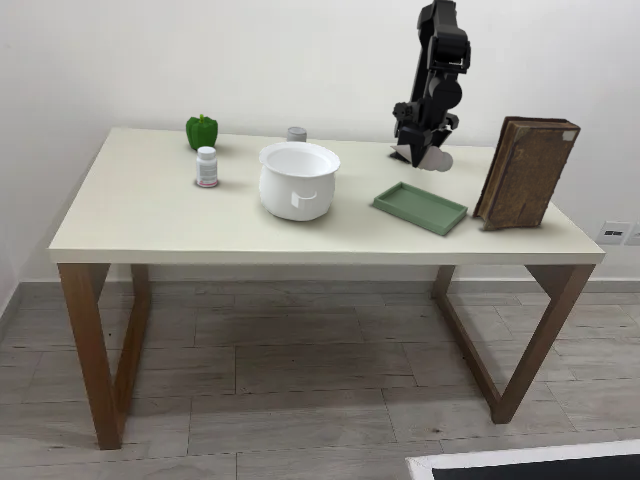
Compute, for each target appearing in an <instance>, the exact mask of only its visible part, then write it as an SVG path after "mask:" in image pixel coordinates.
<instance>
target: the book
mask: <svg viewBox="0 0 640 480" xmlns="http://www.w3.org/2000/svg"><path fill="white" fill-rule="evenodd" d="M581 130H582V128H581V127H580V126H579V125H578V124H575V123H573V122H571V121H570V120H568V119H566V118H557V117H532V116H531V117H528V116H520V115H505V116H504V119H503V122H502V124H501V127H500V130H499V131H500V133H499V137H498V140H497V143H496V146H495V151H494V153H493V157H492V160H491V163H490V166H489V168H488V171H487V174H486V177H485V180H484V183H483V186H482V189H481V191H480V194H479V195H480V196H479V197H478V201H477V202H476V204H475V207H474V209H473V212H472V215H471V217H472V218H473V219H474V218H482V220H483V221H484V224H483V226H482V230H483V231H497V230H504V229H505V230H507V229H517V228H522V229H523V228H525V229H534V228H535V229H536V228H538V227H540V226H542V225H541V224H542V222H543V221H544V220H543V219H544V216H545V214H546V212H547V209H549V204H550V202H551V199H552V197H553V195H554V194H555V189H556V187H557V185H558V182H559V180H560V179H561V175H562V173H563V171H564V169H565V167H566V165H567V164H568V159H569V158H570V154H571V152H572V150H573V148H574V147H575V143H576V141H577V139H578V137H579V135H580V134H581Z"/></svg>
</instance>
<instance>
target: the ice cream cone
mask: <svg viewBox="0 0 640 480" xmlns="http://www.w3.org/2000/svg"><path fill="white" fill-rule="evenodd" d="M389 147H390V148H391V149H393V150H394V151H397V152H398V153H400V154H401V155H402V156H403V157H405V158H406V159H407V160H409V161H410V162H411V163H410V164H412V160H411V151H410V146H409V145H397V144H396V145H389ZM453 165H454V159H453V156H452V155H451V153H449V152H447V151H443V150H442V149H441V148H438V147H436V146H431V147H430V148H429V150H428V151H427V153H426V155H425V156H424V158H423V159H422V161H421V163H420V164H419V166H418V167H417V169H419V170H420V171H421V170H425V171H429V172H433V171H434V172H435V171H436V172H439V173H446V172H448V171H450V170H451V169H452V167H453Z"/></svg>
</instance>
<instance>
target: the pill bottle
mask: <svg viewBox="0 0 640 480" xmlns="http://www.w3.org/2000/svg"><path fill="white" fill-rule="evenodd" d="M195 165H196V167H195V168H196V170H195V171H196V184H197V185H198V186H200V187H203V188H212V187H214V186H216V185H217V184H218V157H216V148H214V147H213V148H212V147H200V148H199V149H198V151H197V157H196V159H195Z"/></svg>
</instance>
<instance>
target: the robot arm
mask: <svg viewBox="0 0 640 480" xmlns="http://www.w3.org/2000/svg"><path fill="white" fill-rule="evenodd" d="M456 9H457V2H456V1H454V0H432V3H429V4H427V5H425V6H423V7H422V8H421V10H420V12H419V14H418V18H417V23H416V30H417V37H418V40H419V41H418V42H419V44H420V51H419V56H418V60H417V64H416V70H415V74H414V78H413V83H412V87H411V92H410V97H409V101H408V102H406V101H402V102H401V101H400V102H396V103H395V105H394V107H393V110H392V112H391V114H392V115H393V117H394V118H395V119H396V122H395V124H394V128H393V129H394V130H393V137H394V139H397V142H396V146H397V145H409V146H410V151H411V160H412V163H411V162H410V161H409V160H407V159H406V158H405V157H403V156H402V155H401V154H400V153H398V152H397V151H396V150H394V152H392V153H390V154H389V157H391V158H393V159H396V160H399V161H402V162H405V163H406V164H411V167H412V168H415V169H418V166H419V164H420V163H421V161H422V159H423V158H424V156H425V155H426V153H427V151H428V150H429V148H430V147H431V146H436V147H438V148H439V149H441V147H442V146H443V144H444V143H445V142H446V141H447V139H448V138H449V137H450V135H451V134H452V133H453V131H455V130H456V129H458V127H459V124H460V119H459V117H458V115H457V114H453V113H450V112H448V111H449V110H452V109H454V108H455V107H457V106H459V104H460V103H461V101H462V99H463V89H462V86H461V85H460V83H459V80H458V79H459V78H458V77H459V74H460V75H468V74H467V73H468V70H469V69H470V67H471V61H472V46H471V41H470V40H469V35H468V34H467V32H466V30H464V29H462V28H460V27H459V25H458V19H457V15H458V11H457V10H456ZM448 126H449V128H450V129H448Z"/></svg>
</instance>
